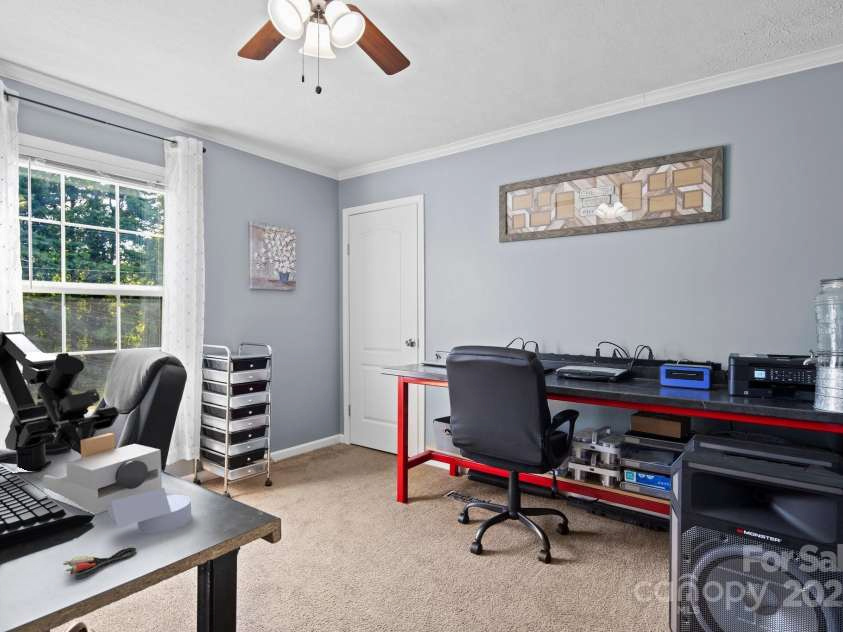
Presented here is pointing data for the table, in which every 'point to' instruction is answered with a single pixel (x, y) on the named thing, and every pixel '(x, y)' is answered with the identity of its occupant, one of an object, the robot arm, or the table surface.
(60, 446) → the camera lens
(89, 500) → the camera case
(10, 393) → the robot arm
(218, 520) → the table surface
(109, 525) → the table surface
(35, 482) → the table surface
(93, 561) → the composite cable
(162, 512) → the wedge on round base
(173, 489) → the table surface
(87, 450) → the tan boxy piece
